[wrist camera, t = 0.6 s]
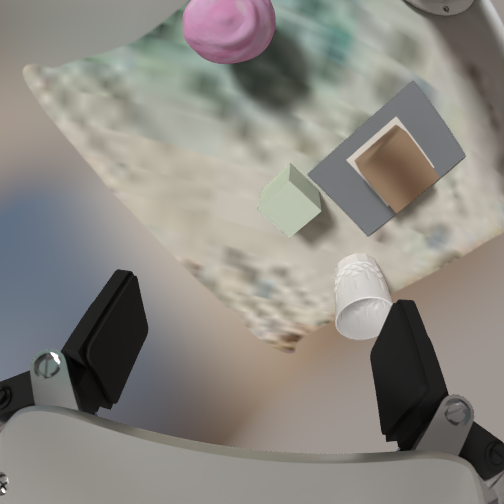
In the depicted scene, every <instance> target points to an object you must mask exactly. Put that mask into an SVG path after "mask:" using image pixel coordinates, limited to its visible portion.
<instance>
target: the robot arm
mask: <svg viewBox="0 0 504 504" xmlns="http://www.w3.org/2000/svg"><path fill="white" fill-rule="evenodd" d="M406 1H407V2H409V3H410V4H412V5H414V6H415V7H417V8H419V9H421V10H423V11H425V12H428V13H431V14H435V15H442V16H448V15H455V14H459V13H461V12H464V11H465V10H466V9H467V8H469V6H470V5H471V4H472V2H473V0H406ZM443 8H444V10H445V11H444V10H443ZM147 334H148V324H147V319H146V315H145V311H144V307H143V302H142V298H141V293H140V289H139V283H138V279H137V277H136V276H134V274H133V273H132V272H131V271H126V270H119V269H118V270H116V271H115V272H114V274H113V275H112V277H111V278H110V279H109V281H108V282H107V284H106V285H105V286H104V288H103V289H102V291H101V292H100V294H99V295H98V297H97V298H96V299H95V301H94V302H93V303H92V304H91V305H90V307H89V308H88V310H87V311H86V313H85V314H84V316H83V317H82V319H81V320H80V322H79V324H78V325H77V327H76V328H75V330H74V331H73V333H72V334H71V336H70V337H69V339H68V341H67V342H66V344H65V345H64V347H63V349H62V350H61V352H60V351H58V350H55V349H48V350H44V351H42V352H40V353H38V354H37V355H36V356H35V357H34V359H33V360H32V362H31V365H30V371H27V372H25V373H22V374H19V375H17V376H14V377H12V378H9V379H6V380H4V381H1V382H0V504H504V443H503V442H502V441H501V440H499V439H498V438H496V437H495V436H493V435H492V434H491V433H489V432H488V431H487V430H485V429H484V428H482V427H481V426H480V425H478V424H477V423H476V422H474V421H473V419H474V410H473V407H472V405H471V404H470V402H469V401H468V400H467V399H466V398H464V397H462V396H460V395H454V394H453V395H449V394H448V391H447V388H446V384H445V381H444V378H443V375H442V372H441V368H440V366H439V362H438V360H437V357H436V354H435V351H434V348H433V345H432V343H431V340H430V338H429V337H428V335H427V333H426V330H425V327H424V324H423V322H422V319H421V317H420V314H419V312H418V309H417V307H416V304H415V302H414V301H413V300H398V301H397V302H396V303H393V304H392V306H391V308H390V311H389V313H388V315H387V318H386V320H385V322H384V325H383V327H382V329H381V331H380V333H379V336H378V338H377V340H376V342H375V345H374V346H373V348H372V351H371V355H370V360H371V366H372V372H373V378H374V384H375V390H376V396H377V403H378V410H379V417H380V425H381V431H382V434H383V435H386V442H389V441H397V443H398V447H399V448H398V449H397V451H396V452H381V453H356V454H305V453H286V452H272V451H261V450H251V449H243V448H235V447H227V446H221V445H214V444H208V443H202V442H197V441H192V440H187V439H181V438H177V437H172V436H168V435H164V434H159V433H155V432H151V431H147V430H143V429H140V428H136V427H132V426H129V425H125V424H122V423H118V422H115V421H111V420H108V419H105V418H102V417H98V414H97V411H98V409H99V407H100V406H101V407H103V408H107V409H111V408H112V405H113V403H114V404H116V403H117V402H118V400H119V398H120V395H121V393H122V390H123V388H124V386H125V383H126V381H127V379H128V377H129V374H130V372H131V370H132V367H133V365H134V363H135V361H136V358H137V356H138V354H139V352H140V350H141V347H142V345H143V343H144V341H145V339H146V337H147Z"/></svg>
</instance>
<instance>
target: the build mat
mask: <svg viewBox="0 0 504 504" xmlns="http://www.w3.org/2000/svg"><path fill="white" fill-rule="evenodd" d="M394 125H398V126H399V127H400V128H402V129H403V130H405V131H406V132H407V133H408V134H409V136H410V137H411V138H412V140H413V141H414V142H415V144H416V145H417V146H418V148H419V149H420V150H421V152H422V153H423V154H424V156H425V157H426V159H427V160H428V161H429V163H430V164H431V166H432V167H433V169H434V170H435V172H436V173H437V174H438V176H439V177H442V176H443V175H444V174H445V173H446V172H448V171H449V170H450V169H451V168H452V167H453V166H454V165H456V164H457V163H458V162H459V161H460V160H461V159H463V158H464V157H465V156H466V155H465V153H464V152H463V150H462V148H461V147H460V145H459V144H458V142H457V140H456V139H455V137H454V136H453V134H452V133H451V131H450V130H449V128H448V127H447V125H446V124H445V122H444V121H443V119H442V118H441V116H440V115H439V113H438V112H437V111H436V109H435V108H434V106H433V105H432V104H431V102H430V101H429V100H428V98H427V97H426V96H425V94H424V93H423V92H422V91H421V89H420V88H419V87H418V85H417V84H416V83H415V82H414V81H412V82H411V83H410V84H408V85H407V86H406V87H405V88H404V89H403V90H402V91H400V92H399V93H398V94H397V95H396V96H395V97H394V98H392V99H391V100H390V101H389V102H388V103H387V104H386V105H384V106H383V107H382V108H381V109H380V110H379V111H378V112H376V113H375V114H374V115H373V116H372V117H371V118H370V119H368V120H367V121H366V122H365V123H364V124H363V125H362V126H361V127H359V128H358V129H357V130H356V131H355V132H354V133H353V134H352V135H350V136H349V137H348V138H347V139H346V140H345V141H344V142H343V143H342V144H340V145H339V146H338V147H337V148H336V149H335V150H334V151H333V152H331V153H330V154H329V155H328V156H327V157H326V158H325V159H324V160H323V161H321V162H320V163H319V164H318V165H317V166H316V167H315V168H314V169H313V170H312V171H310V172H309V173H308V176H309V177H310V178H311V179H312V180H313V181H314V182H315V183H316V184H317V185H318V186H319V187H320V188H321V189H322V190H323V191H324V192H325V193H327V194H328V195H329V196H330V197H331V198H332V199H333V200H334V201H335V203H336V204H337V205H338V206H339V207H340V208H341V209H342V210H343V211H344V212H345V213H346V214H347V215H348V216H349V217H350V218H351V219H352V220H353V221H354V222H355V223H356V224H357V225H358V226H359V227H360V228H361V229H362V231H363V232H364V233H365V234H366V235H367V236H369V235H370V234H371V233H373V232H374V231H375V230H376V229H378V228H379V227H380V226H382V225H383V224H384V223H385V222H387V221H388V220H389V219H390V218H392V217H393V216H394V215H395V214H396V213H395V211H394V210H393V209H392V208H391V207H390V205H389V204H388V203H387V202H386V201H385V199H384V198H383V197H382V196H381V195H380V194H379V192H378V191H377V190H376V189H375V188H374V187H373V185H372V184H371V183H370V182H369V181H368V180H367V179H366V178H365V176H364V175H363V174H362V173H361V172H360V170H359V168H358V167H357V165H356V163H355V161H354V160H355V159H357V158H358V157H359V156H360V155H361V154H362V153H363V152H365V151H366V150H367V149H368V148H369V147H370V146H372V145H373V144H374V143H375V142H376V141H377V140H378V139H380V138H381V137H382V136H383V135H384V134H385V133H386V132H388V131H389V130H390V129H391V128H392V127H393V126H394ZM434 183H435V182H434ZM428 188H429V187H428ZM422 193H423V192H422ZM411 202H412V201H411Z"/></svg>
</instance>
